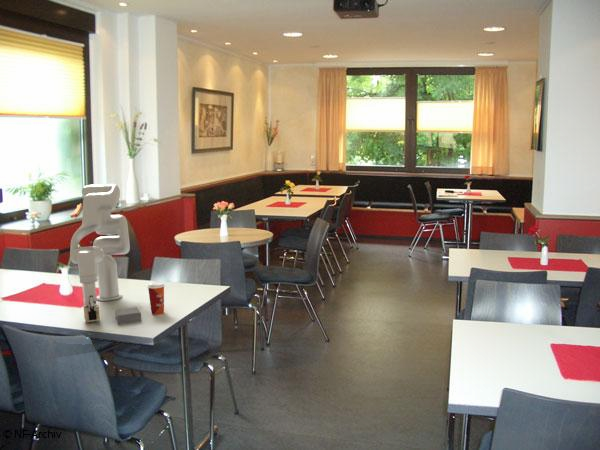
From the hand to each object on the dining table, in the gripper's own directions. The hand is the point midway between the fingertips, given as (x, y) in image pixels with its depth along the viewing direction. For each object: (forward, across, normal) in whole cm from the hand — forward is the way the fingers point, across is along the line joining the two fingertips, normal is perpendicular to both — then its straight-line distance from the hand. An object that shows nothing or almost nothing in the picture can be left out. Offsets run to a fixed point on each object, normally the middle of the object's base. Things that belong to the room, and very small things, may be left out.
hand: (92, 317), depth 282 cm
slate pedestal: (+2, +5, +15) cm, 16 cm away
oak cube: (+1, 0, 0) cm, 1 cm away
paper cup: (+3, +1, +29) cm, 29 cm away
